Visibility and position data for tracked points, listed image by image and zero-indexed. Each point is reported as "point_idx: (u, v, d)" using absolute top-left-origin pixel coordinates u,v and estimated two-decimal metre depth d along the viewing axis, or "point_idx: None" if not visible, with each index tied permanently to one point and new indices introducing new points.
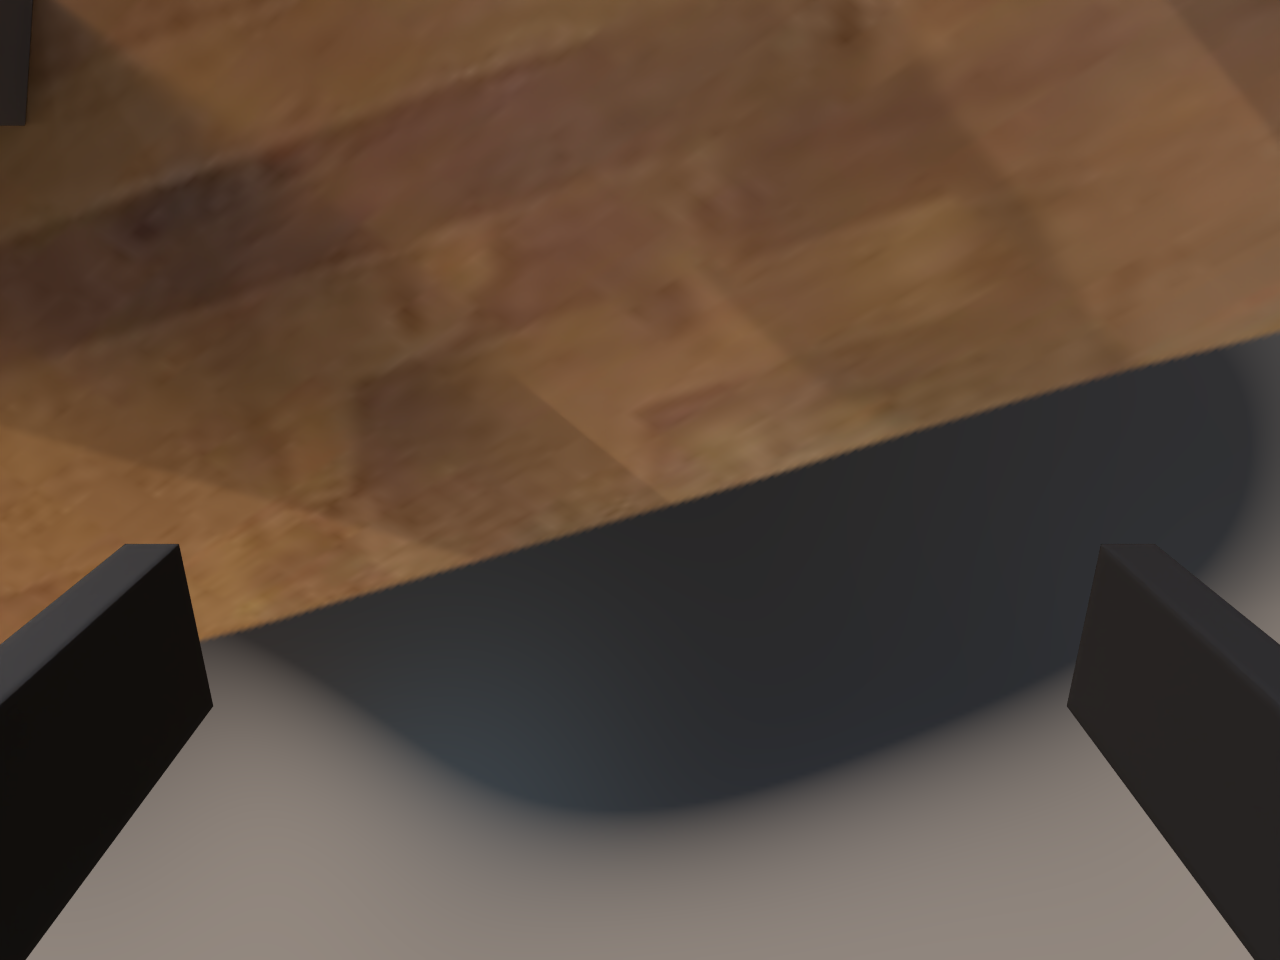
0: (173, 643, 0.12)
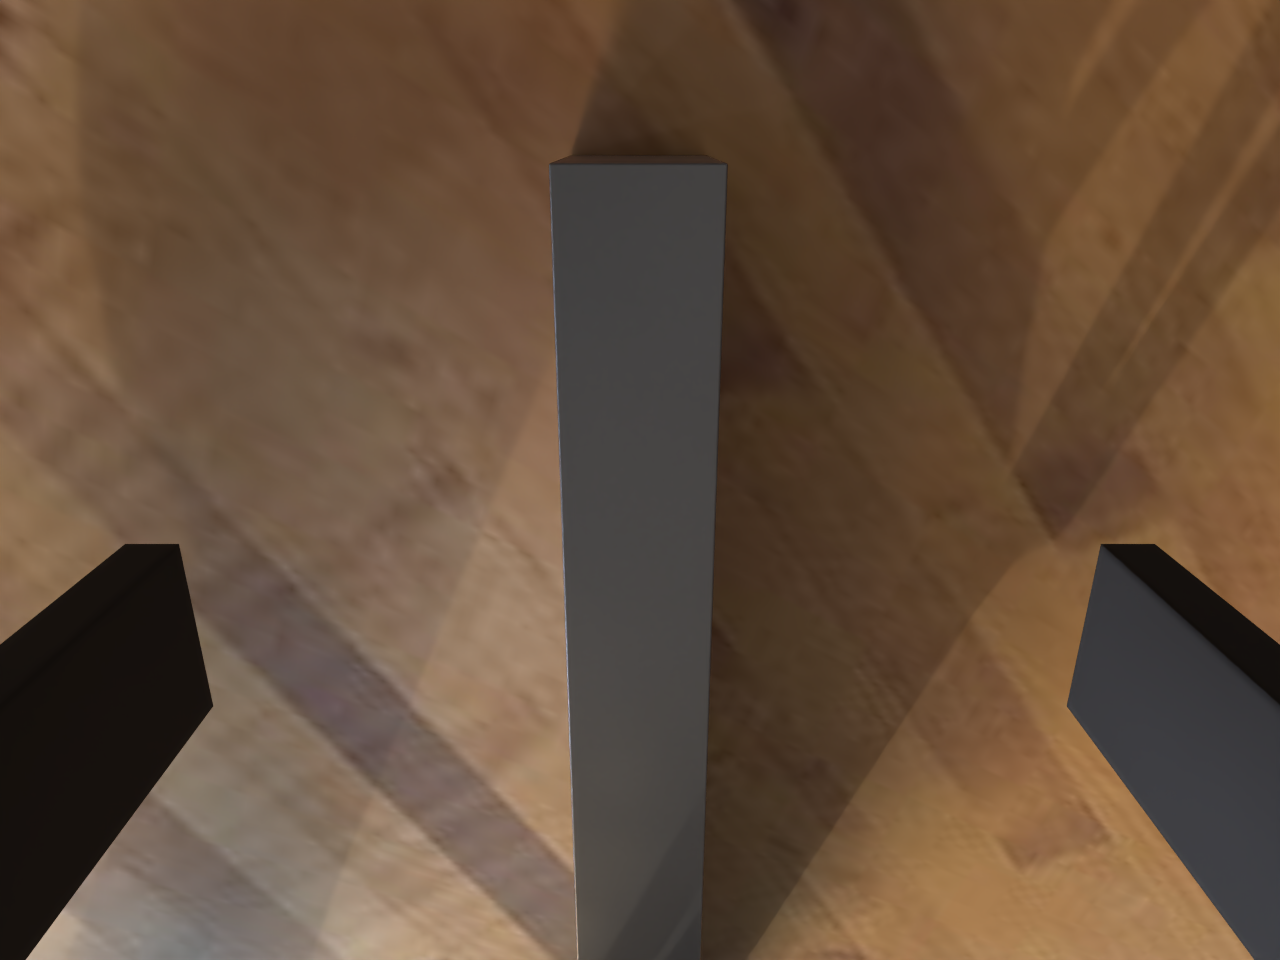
0: (173, 643, 0.12)
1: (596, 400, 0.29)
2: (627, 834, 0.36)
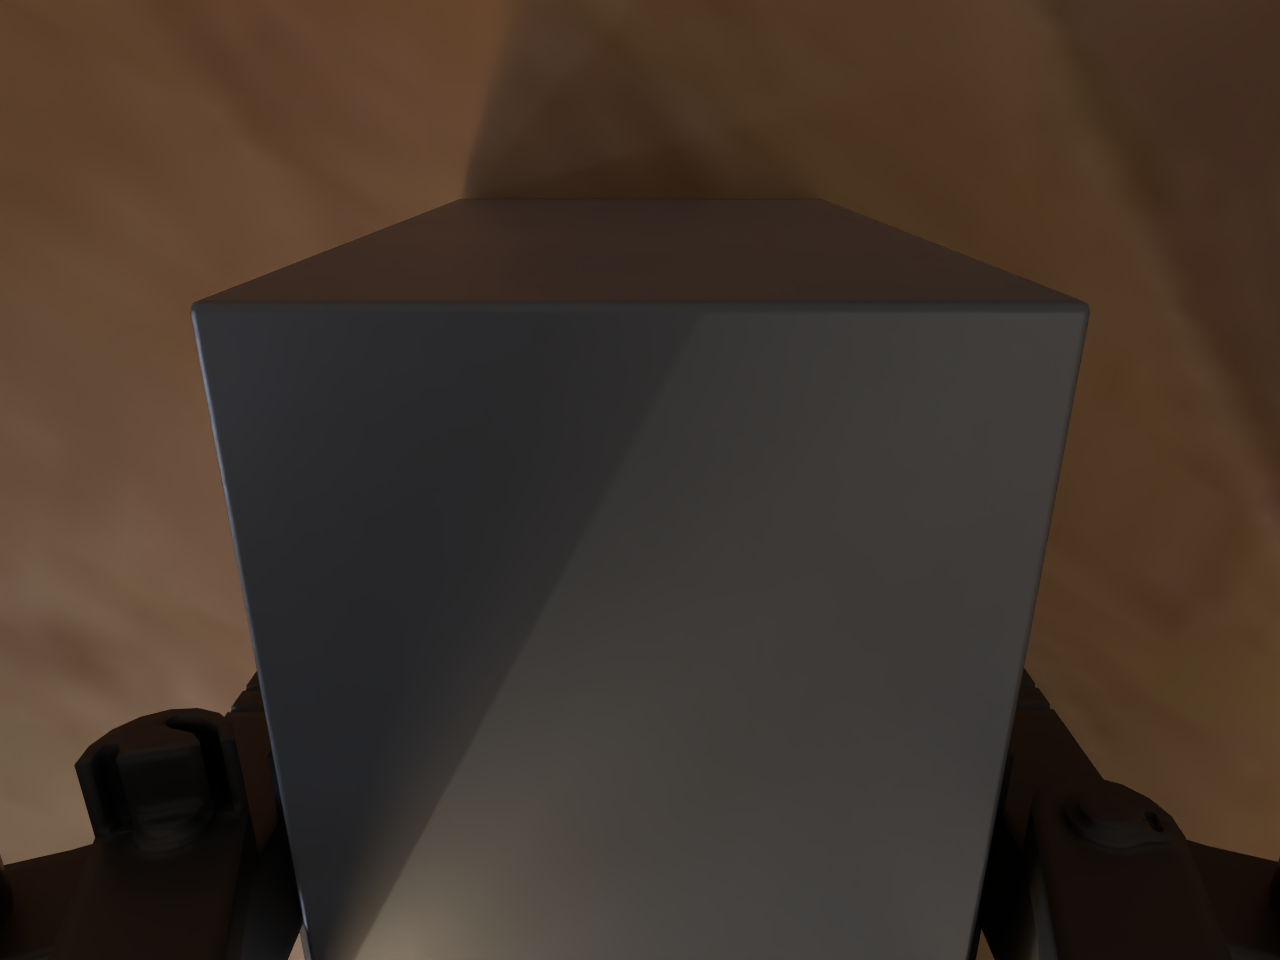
0: None
1: None
2: None
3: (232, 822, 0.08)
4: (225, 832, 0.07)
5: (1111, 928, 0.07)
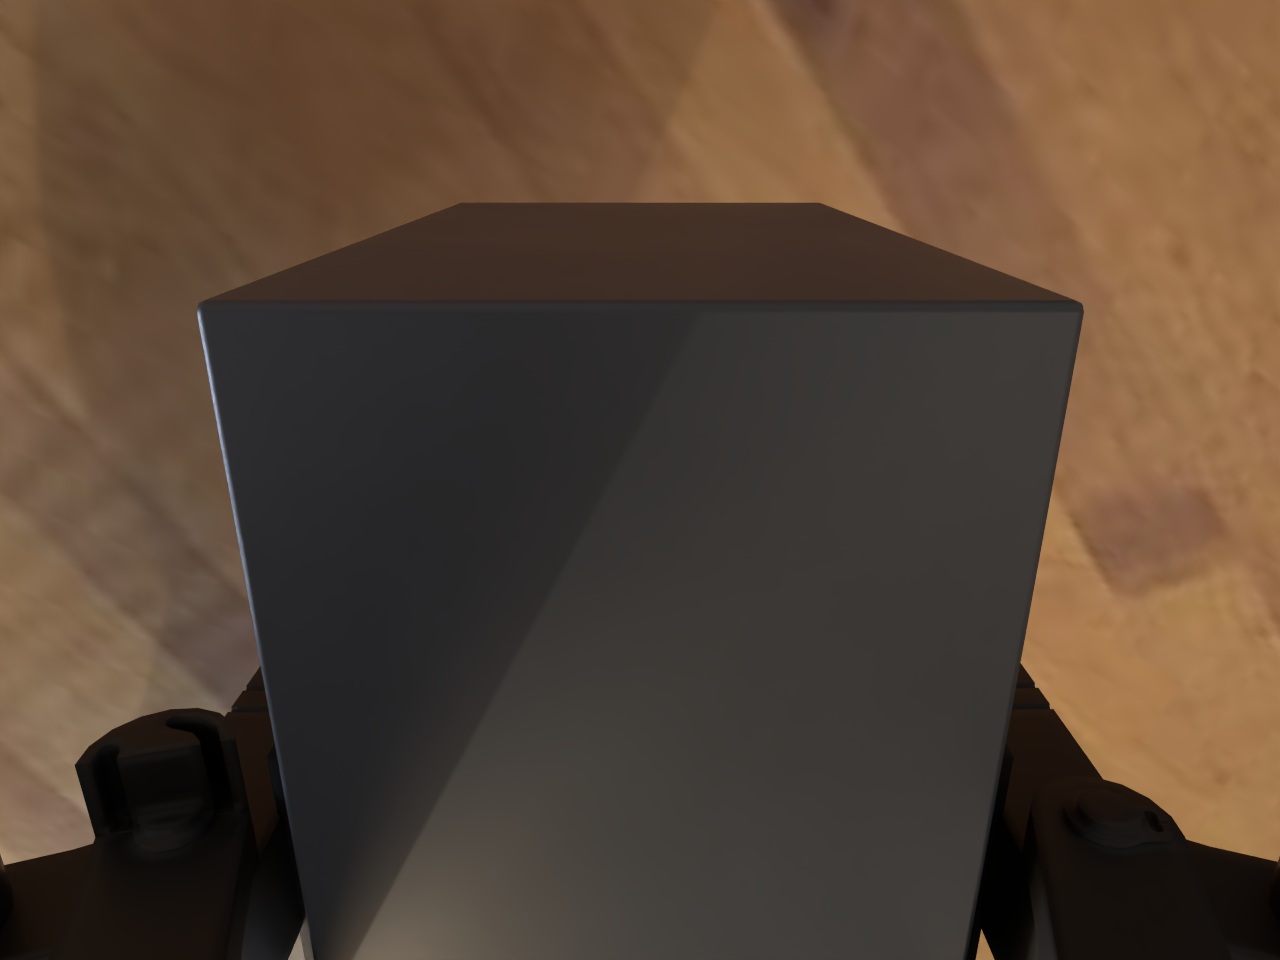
0: None
1: None
2: None
3: (233, 822, 0.08)
4: (226, 832, 0.07)
5: (1111, 928, 0.07)
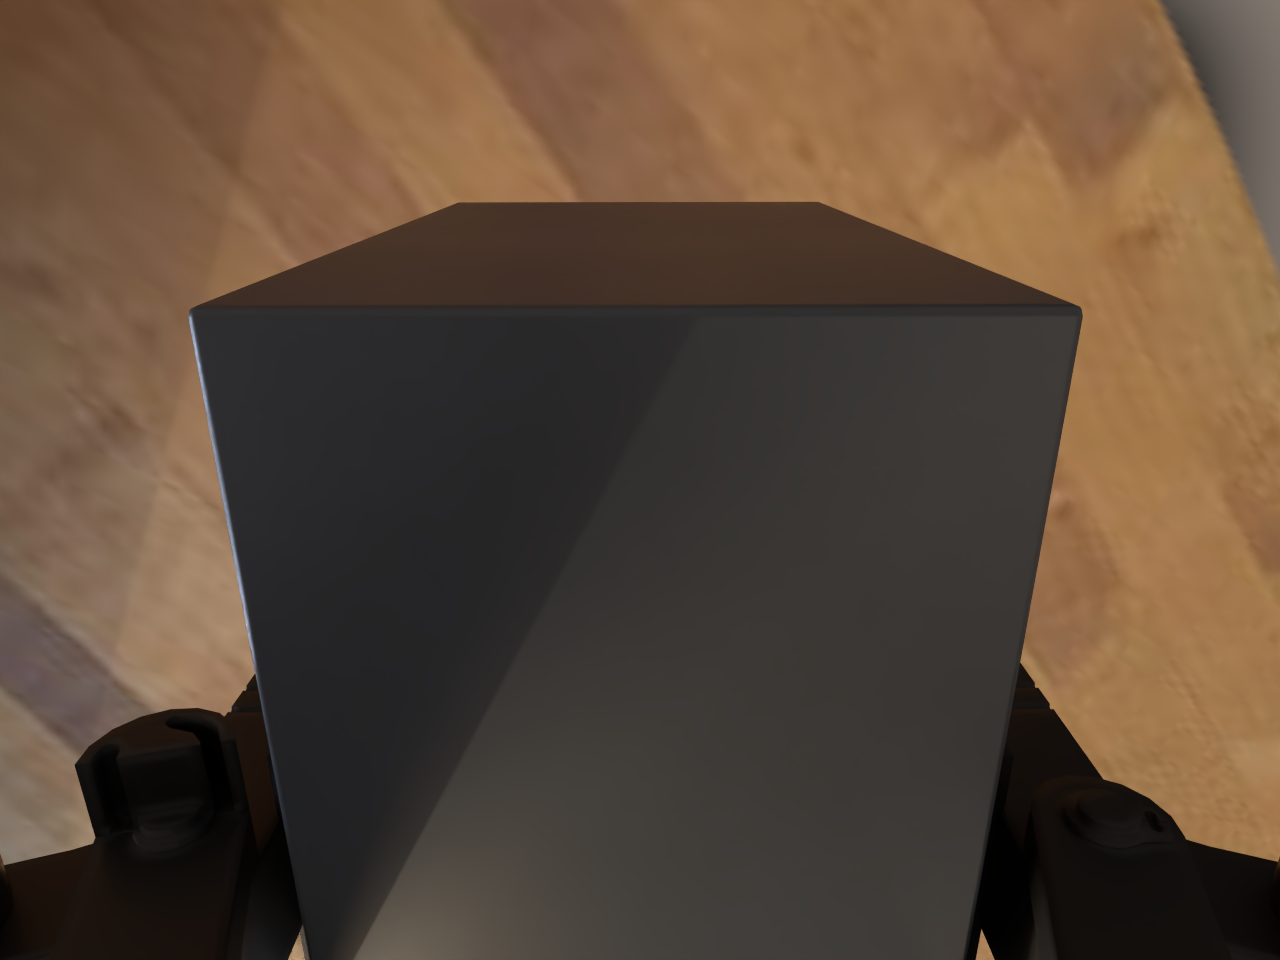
0: None
1: None
2: None
3: (232, 822, 0.08)
4: (225, 832, 0.07)
5: (1111, 928, 0.07)
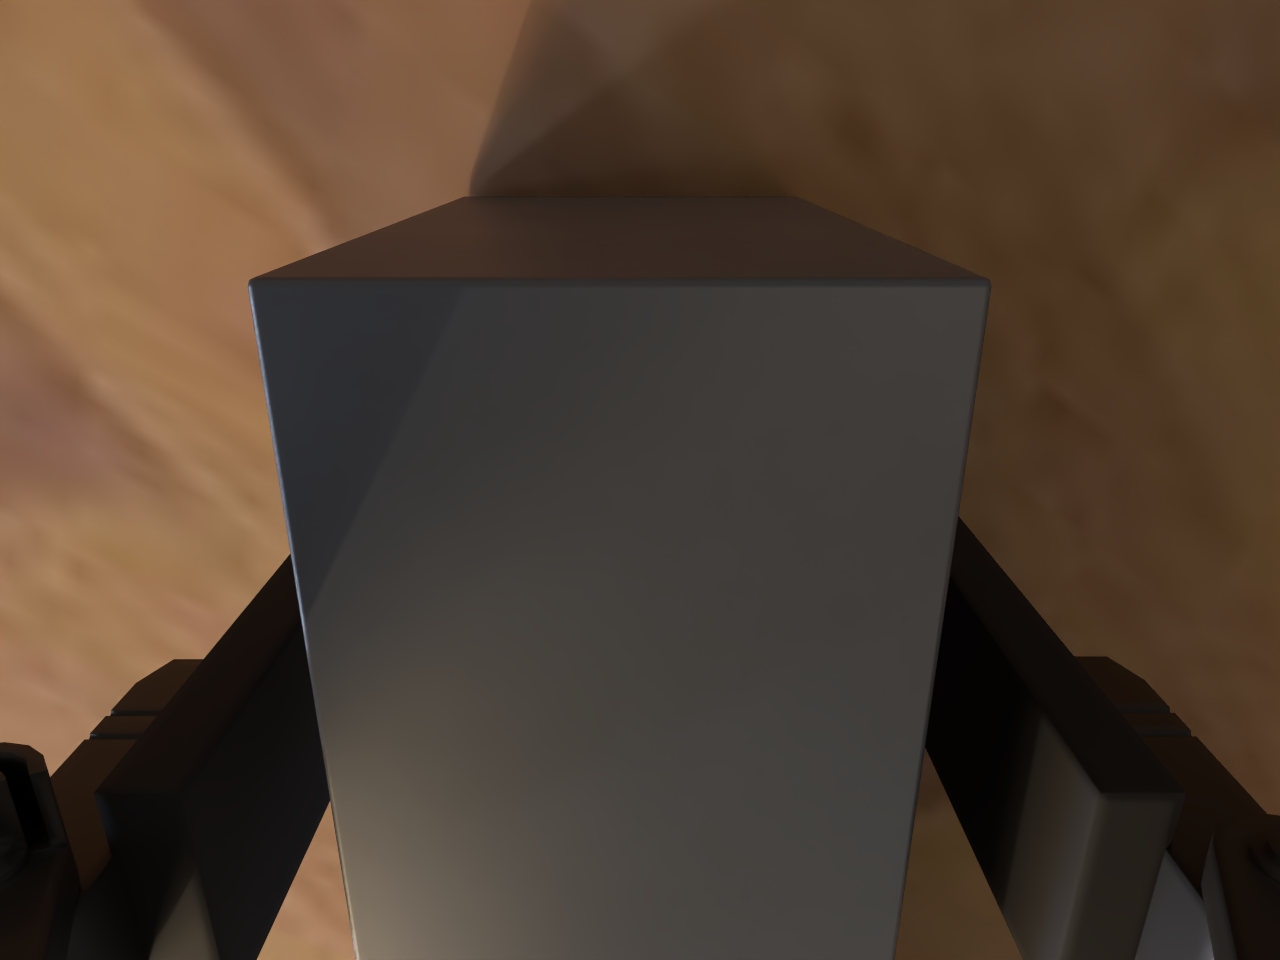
0: None
1: None
2: None
3: (48, 858, 0.07)
4: (40, 869, 0.07)
5: None
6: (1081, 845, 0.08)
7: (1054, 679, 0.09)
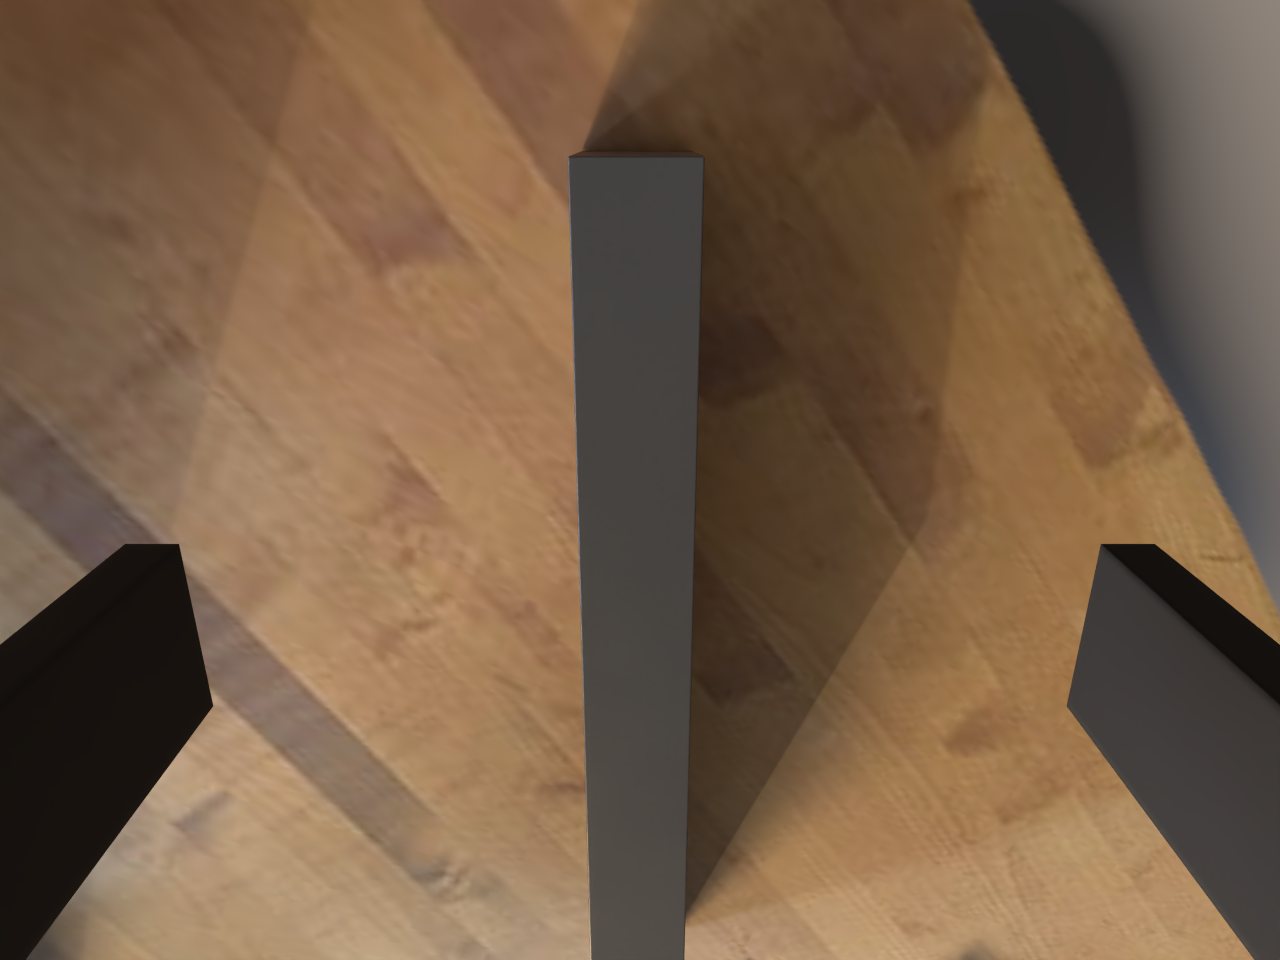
0: (173, 643, 0.12)
1: (604, 341, 0.38)
2: (627, 704, 0.45)
3: None
4: None
5: None
6: None
7: None
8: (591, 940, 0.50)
